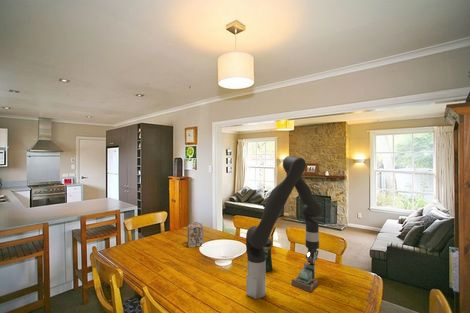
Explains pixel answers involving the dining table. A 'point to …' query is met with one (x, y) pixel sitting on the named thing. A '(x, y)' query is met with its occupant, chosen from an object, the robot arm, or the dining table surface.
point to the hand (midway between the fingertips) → (312, 269)
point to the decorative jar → (195, 234)
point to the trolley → (307, 274)
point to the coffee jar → (268, 255)
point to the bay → (304, 285)
